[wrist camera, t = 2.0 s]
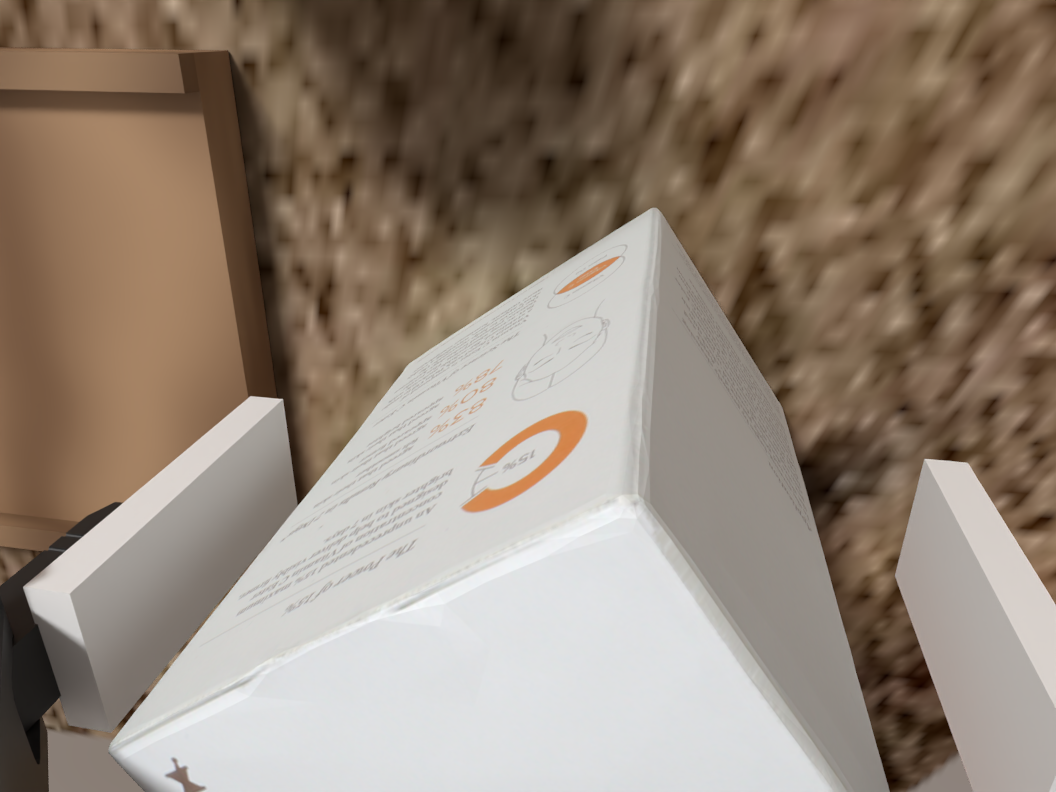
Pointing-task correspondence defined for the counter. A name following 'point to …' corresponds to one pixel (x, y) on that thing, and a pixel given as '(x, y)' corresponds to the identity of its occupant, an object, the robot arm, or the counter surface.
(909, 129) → the counter surface
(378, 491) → the small box
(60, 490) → the walnut board
